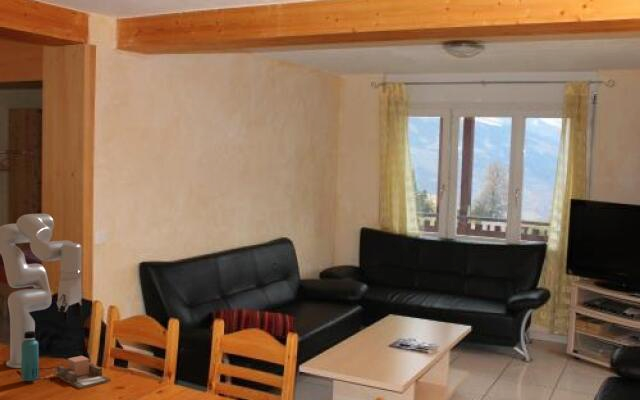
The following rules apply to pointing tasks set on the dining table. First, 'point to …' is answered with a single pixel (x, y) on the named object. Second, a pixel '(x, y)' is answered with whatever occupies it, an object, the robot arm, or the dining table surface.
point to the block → (79, 365)
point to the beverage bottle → (30, 357)
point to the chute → (82, 376)
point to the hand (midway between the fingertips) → (70, 318)
